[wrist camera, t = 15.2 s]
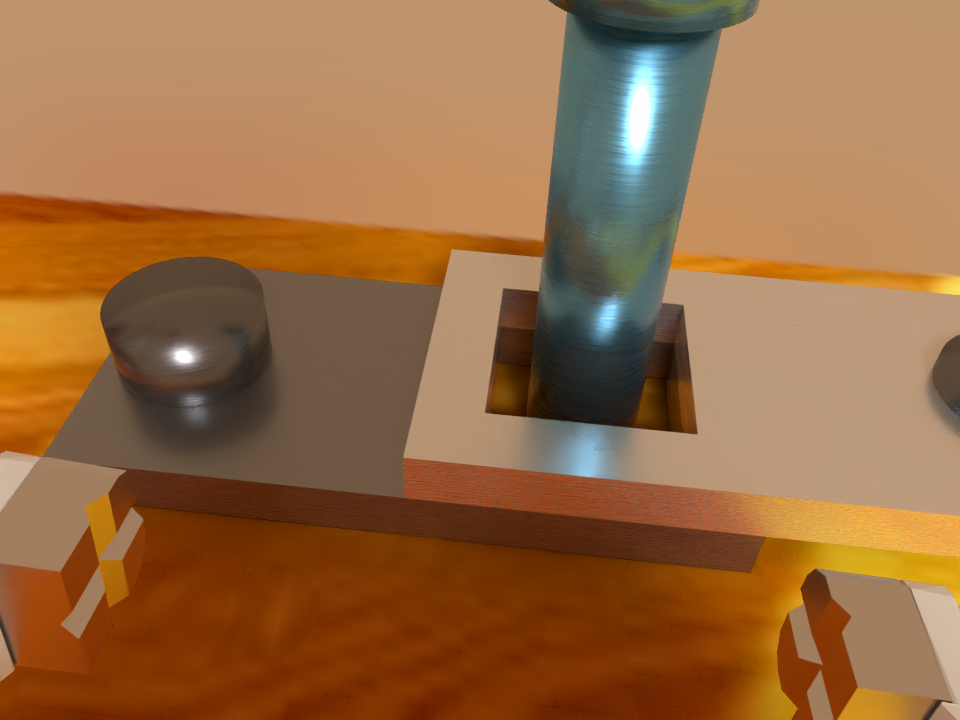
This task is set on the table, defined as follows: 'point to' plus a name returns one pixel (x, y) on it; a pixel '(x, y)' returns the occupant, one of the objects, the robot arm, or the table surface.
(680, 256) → the table surface
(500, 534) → the latch plate
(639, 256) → the pin
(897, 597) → the robot arm
